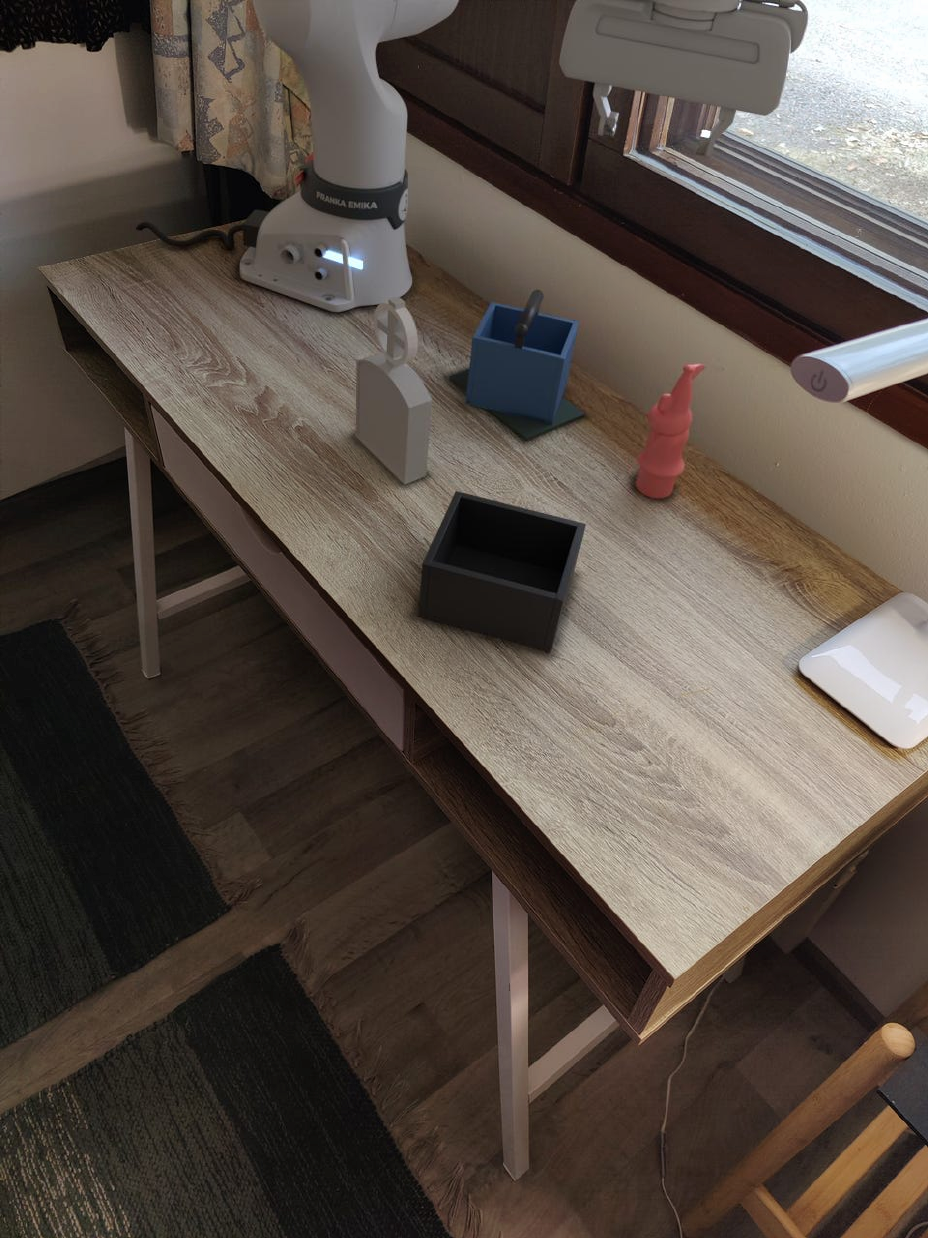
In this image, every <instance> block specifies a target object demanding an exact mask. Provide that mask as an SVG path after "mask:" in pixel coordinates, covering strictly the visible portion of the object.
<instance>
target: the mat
mask: <svg viewBox="0 0 928 1238" xmlns="http://www.w3.org/2000/svg"><path fill="white" fill-rule="evenodd" d="M468 374H469V368H467V369H465V370H462V371H459V372H457V373H454V374H452V375H449V376H448V380H450V381H451V382H452V383H454V384H455V385H456V386H457V387H458V388H459V389H461V390H462V391H463V392H464V393H467V384H468ZM486 410H487V411H488V412H489V413H491V414H492V415H493V416H494V417H496V419H498V420H499V421H500V422H502V423H503V424H504V425H505V426H507V427H508V428H509V429H510V430H511V431H512V432H514V433H515V434H516V435H518V436H519V437H520V438H521V439H522V440H523V441H525V442H526V441H529V440H532V439H533V438H536V437H539V436H541V435H543V434H546V433H548V432H551V431H553V430H555V429H557V428H560V427H562V426H565V425H567V424H569V423H572V422H574V421H577V420H579V419H582V418H584V417H585V414H586V413H585V412H584V411H582V410H581V409H580V408H579V407H577V406H576V405H575V404H573V403H572V402H570V401H569V400H568V399H566V398H565V397H564V396H563V397H562V399H561V402H560V405H559V407H558V410H557V412H556V415H555V418H554V420H553V423H552V425H551V424H547V423H543V422H539V421H535V420H531V419H526V418H522V417H518V416H514V415H510V414H506V413H502V412H498V411H493V410H489V409H486Z"/></svg>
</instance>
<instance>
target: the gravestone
mask: <svg viewBox="0 0 928 1238" xmlns="http://www.w3.org/2000/svg"><path fill="white" fill-rule="evenodd" d="M373 329H374V334H375V339H376V342H377V344H378V347H379V350H380V351H381V352H379V353H376V354H373V355H370V356H367V357H363V358H360V359H357V360H355V370H356V371H355V437H356V438H357V440H359V441H360V443H362V444H363V446H365V447H366V448H367V449H368V450H369V451H370V452H371V453H372V455H374V456H375V457H376V458H377V459H378V460H379V461H380V462H381V463H382V464H383V465H384V466H385V467H386V468H387V469H388V470H389V471H390V472H391V473H392V474H393V475H394V476H395V477H396V478H397V479H398V480H399V481H400V482H401V483H403V485H407V484H410V483H413V482H415V481H417V480H420V479H422V478H425V477H427V473H428V472H427V470H428V458H429V444H430V432H431V422H432V421H431V420H432V407H433V399H432V397H431V394H430V393H429V390H428V389H427V387H426V385H425V383H424V382H423V380H422V378H420V376H419V375H418V374H417V373H416V371H415V370H414V369H413V368H412V367H411V366H410V365H409V364H408V363H411V362H413V361H414V360H415V358H416V357H417V354H418V350H419V336H418V331H417V327H416V323H415V321H414V318H413V317H412V315H411V313H410V311H409V310H408V308H407V307H406V301H405V300H403V299H402V298H401V297H399V296H397V297H394V298H390V299H388V302H385V303H381V304H377V306H376V308H375V310H374V314H373Z"/></svg>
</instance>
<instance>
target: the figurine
mask: <svg viewBox="0 0 928 1238" xmlns="http://www.w3.org/2000/svg"><path fill="white" fill-rule="evenodd" d="M705 369H706V366H705V365H703V364H702V363H700V362H699V363H698V362H697V363H694V364H692V363H691V364H690V363H688V364H685V365H683V368H682V370H683V373H682V374H681V375H680V376H679V378H678V379H677V381H676V382H675V384H674V386H673V388H672V389H671V391H670V392H667V393H663V394H662V395H661V396H660V397H659V400H658V402H656V403H655V404H654V405H653V406H652V407H651V408H650V409H649V412H648V414H647V422H648V425H649V426H650V428H651V431H650V432H649V435H648V437H647V438H646V442H645V445H644V448H643V449H642V450H641V451H640V452H639V454H638V456H637V463H638V465H639V470H638V473H637V477H636V480H635V486H636V489H637V490H638V491H639V492H640V493H641V494H643V495H644V496H647V497H649V498H652V499H664V498H667V497H669V496H671V494H672V492H673V489H674V486H675V484H676V480H677V477H678V476H680V475H681V474H682V473H684V471H685V467H686V465H685V461H684V459H683V452H684V450H685V447H686V445H687V443H688V440H689V437H690V428H691V426H692V422H693V413H692V410H691V409H690V408H691V403H692V400H693V394H694V388H693V387H694V386H693V381H694V380H695V379H696V378H697V376H699V374H700V373H702V371H704V370H705Z"/></svg>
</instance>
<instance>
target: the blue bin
mask: <svg viewBox="0 0 928 1238" xmlns="http://www.w3.org/2000/svg"><path fill="white" fill-rule="evenodd" d="M544 296H545V295H544V292H543V291H541V290H540V289H535V290H533V291H532V292H531V294H530V296H529V298H528V301H527V302H526V304H525V306H524V308H522V307H521V308H520V307H516V306H511V305H507V304H503V303H499V302H494V301H491V303H490V304H489V306H488V308H487V310H486V311H485V313H484V315H483V316H482V319H481V321H480V323H479V325H478V327H477V328H476V330H475V332H474V334H473V336H472V338H471V339H472V340H471V348H470V358H469V366H468V369H469V374H468V384H467V393H466V392H465V393H466V394H465V402H464V404H466V405H469V406H473V407H477V408H481V409H485V410H487V409H489V410H493V411H498V412H502V413H506V414H510V415H514V416H518V417H522V418H526V419H531V420H535V421H539V422H543V423H547V424H551V425H552V423H553V420H554V418H555V415H556V412H557V410H558V407H559V405H560V402H561V399H562V397H564V394H565V391H566V389H567V386H568V385H567V384H568V380H569V376H570V369H571V366H572V365H571V364H572V360H573V354H574V350H575V344H576V340H577V334H578V330H579V325H580V321H577V320H574V319H569V318H565V317H560V316H556V315H550V314H546V313H542V312H540V306H541V304H542V302H543V300H544Z"/></svg>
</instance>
